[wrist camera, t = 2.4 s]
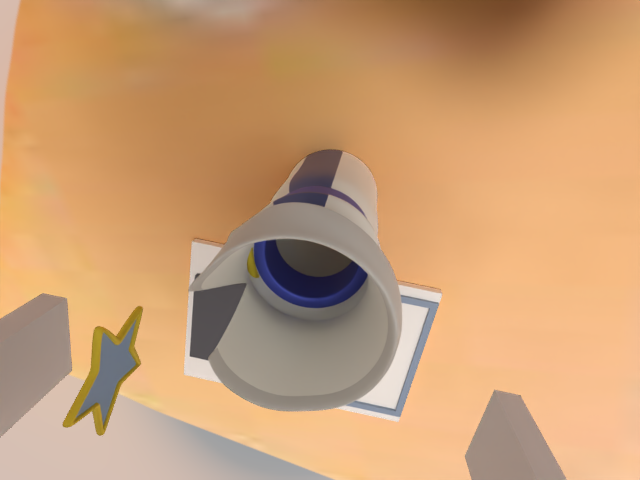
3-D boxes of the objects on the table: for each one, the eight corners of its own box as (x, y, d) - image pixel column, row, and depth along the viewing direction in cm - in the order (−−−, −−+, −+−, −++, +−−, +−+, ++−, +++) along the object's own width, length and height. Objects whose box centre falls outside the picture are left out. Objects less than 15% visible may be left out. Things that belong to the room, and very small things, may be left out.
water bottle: (290, 251, 33) (127, 606, 10) (272, 154, 30) (-15, 334, 7) (383, 242, 32) (447, 619, 9) (373, 140, 29) (429, 299, 6)
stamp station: (195, 238, 34) (188, 243, 32) (440, 289, 33) (443, 297, 32) (187, 369, 39) (181, 378, 38) (397, 415, 38) (398, 426, 37)
